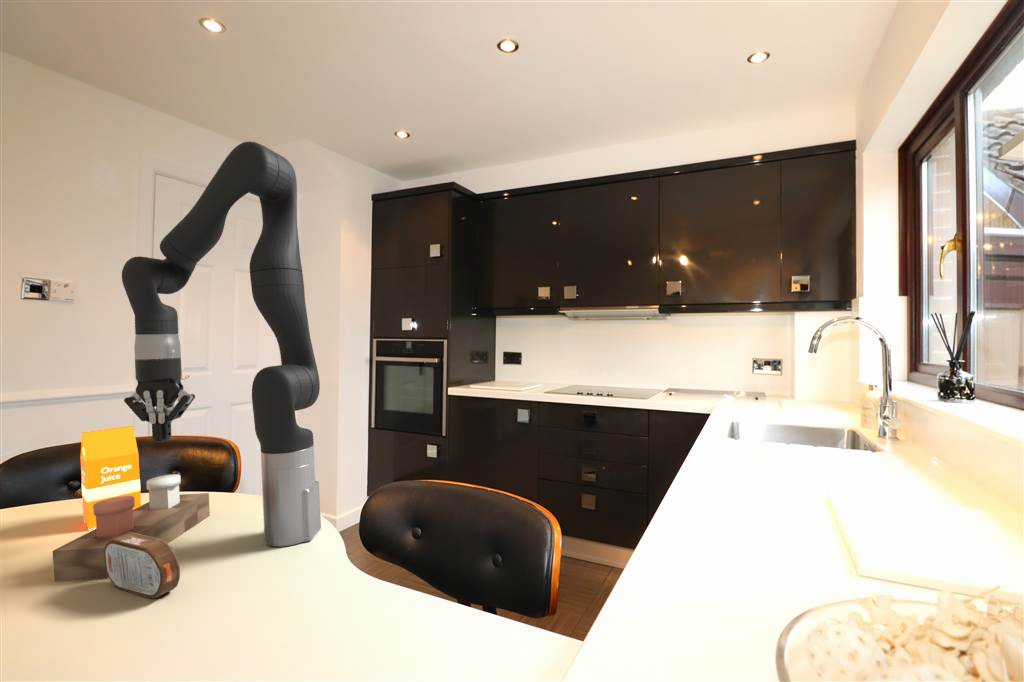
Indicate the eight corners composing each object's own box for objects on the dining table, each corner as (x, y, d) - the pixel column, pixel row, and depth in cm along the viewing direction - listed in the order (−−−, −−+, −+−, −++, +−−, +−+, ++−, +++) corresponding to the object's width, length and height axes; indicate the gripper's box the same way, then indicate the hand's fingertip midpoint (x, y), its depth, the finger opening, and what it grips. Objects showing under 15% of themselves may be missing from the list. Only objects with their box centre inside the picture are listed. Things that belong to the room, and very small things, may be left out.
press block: (209, 515, 103) (208, 493, 103) (118, 576, 77) (117, 546, 77) (162, 518, 102) (161, 495, 102) (54, 581, 76) (52, 550, 76)
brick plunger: (143, 530, 86) (142, 494, 86) (120, 543, 80) (118, 506, 80) (111, 531, 86) (110, 496, 85) (86, 545, 80) (84, 508, 80)
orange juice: (142, 517, 103) (137, 427, 103) (88, 531, 97) (83, 434, 96) (134, 509, 108) (130, 423, 108) (83, 522, 102) (78, 430, 101)
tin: (183, 594, 71) (180, 540, 71) (160, 606, 68) (158, 549, 68) (123, 577, 77) (121, 527, 77) (100, 587, 74) (98, 535, 74)
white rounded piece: (188, 504, 99) (186, 473, 99) (170, 514, 93) (169, 482, 93) (160, 505, 99) (158, 475, 98) (141, 516, 93) (139, 483, 93)
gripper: (203, 354, 100) (206, 435, 100) (137, 356, 99) (141, 438, 99) (180, 356, 92) (184, 444, 92) (109, 358, 91) (113, 447, 92)
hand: (162, 441), depth 96 cm, fingers closed
